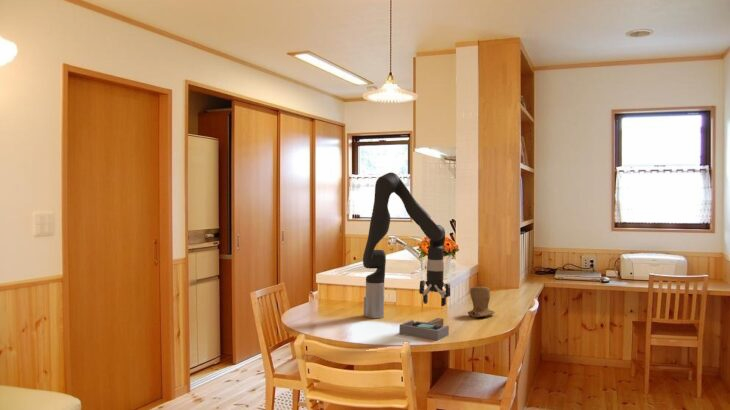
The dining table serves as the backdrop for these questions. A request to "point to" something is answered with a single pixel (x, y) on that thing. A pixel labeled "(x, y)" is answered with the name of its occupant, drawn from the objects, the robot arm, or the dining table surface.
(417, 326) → the teal square block
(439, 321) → the long-handled tray
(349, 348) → the dining table surface
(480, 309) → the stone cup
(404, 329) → the box
